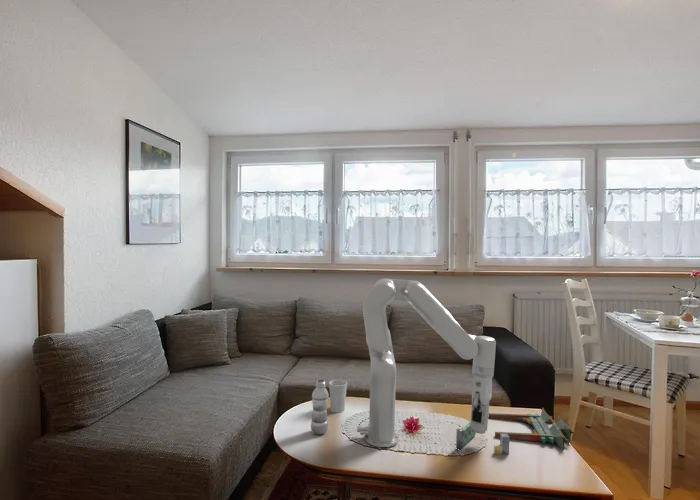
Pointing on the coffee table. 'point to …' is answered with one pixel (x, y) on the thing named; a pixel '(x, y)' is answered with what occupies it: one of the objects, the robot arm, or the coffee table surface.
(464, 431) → the gate
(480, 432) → the energy drink can
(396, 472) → the coffee table surface
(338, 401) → the cup
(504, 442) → the grey and yellow block
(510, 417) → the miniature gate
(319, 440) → the coffee table surface
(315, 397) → the plastic bottle
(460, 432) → the hinge post
